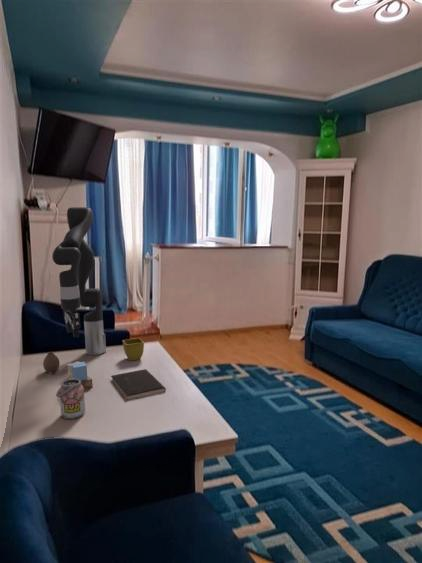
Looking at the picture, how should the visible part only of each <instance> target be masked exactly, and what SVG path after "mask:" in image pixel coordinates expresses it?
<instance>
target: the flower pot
mask: <svg viewBox="0 0 422 563" xmlns="http://www.w3.org/2000/svg"><path fill="white" fill-rule="evenodd" d="M122 347H123V351H124V354H125V356H126V357H127V358H128V360H129V361H137V360H141V358H143V354H144V348H145V342H144V341H143V340H142V339H141V338H140V337H135V338H129V339H123V340H122Z"/></svg>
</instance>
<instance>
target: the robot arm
mask: <svg viewBox="0 0 422 563" xmlns="http://www.w3.org/2000/svg"><path fill="white" fill-rule="evenodd" d="M66 218H67V219H66V220H67V224H68V231H67V232H66V234H65V236H64V238H63V241H62V242H60V243H59V244H58V245H57V246H56V247H55V249H54V250H53V252H52V261H53V262H54V264H55V265H58V266H70V269H66V270H63V271H61V272H59V275H58V277H59V296H60V298H59V299H60V308H61V309H62V310H63V320H64V322H65V324H66V333H68V334H70V333H72V335H73V338H74V339H75V338H80V328H82V326H81V316H80V315H81V314H80V313H79V312H77V309H80V307H82V308H95V309H93V310H92V311H90V312H86V313H85V314H84V315H83V325H84V326H83V327H84V341H85V354H86V355H88V356H89V355H90V356H96V355H98V356H99V355H101V354H103V353H106V352H107V347H106V346H107V345H106V334H105V333H104V320H103V318H104V316H103V293H102V290H101V288H97V287H96V288H86V283H87V282H88V279H89V278H90V275H91V274H92V273H93V271H94V269H95V265H96V261H95V255H94V251H93V249H92V248H91V246H90V245H89V244H88V243H87V241H85V239H84V238H85V236H86V235H87V234H88V232H89V231H90V229H91V228H92V226H93V224H94V213H93V210H92V208H90V207H85V206H80V207H79V206H78V207H76V206H75V207H72V206H71V207H68V209H67V211H66Z"/></svg>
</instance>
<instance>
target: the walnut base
mask: <svg viewBox="0 0 422 563" xmlns="http://www.w3.org/2000/svg"><path fill="white" fill-rule="evenodd" d="M69 379H71V378H68V379H67V380H69ZM81 385H82V386H83V388H84V391H87V390H88V389H93V388H94V386H93V385H94V384H93V378H91V377H89V376H88V375H87V380H82V381H81Z"/></svg>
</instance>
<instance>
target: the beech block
mask: <svg viewBox="0 0 422 563" xmlns="http://www.w3.org/2000/svg"><path fill="white" fill-rule="evenodd" d="M79 362H80V361H75V362H72V363H68V364H67V375H68V379H70V378H72V367H71V364H74V363H79Z"/></svg>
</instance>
